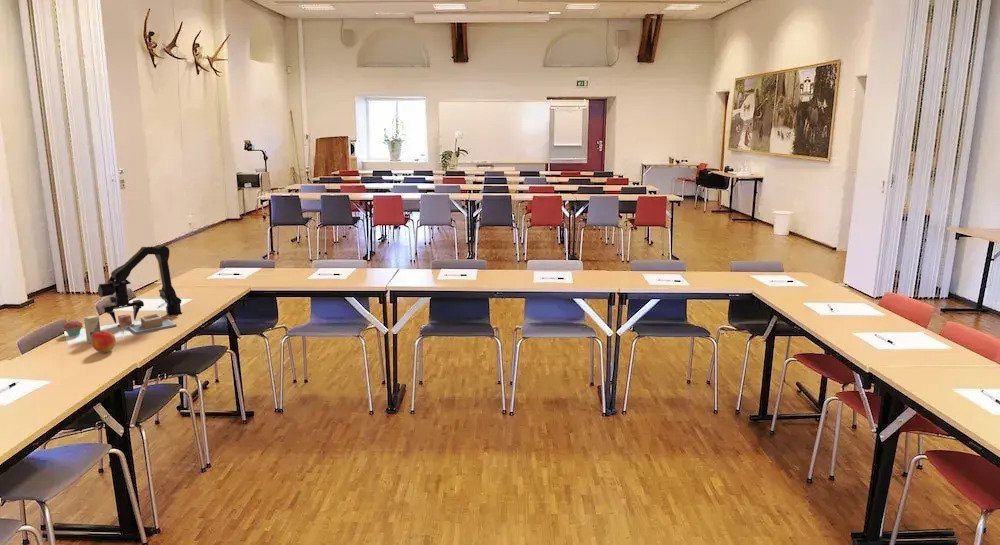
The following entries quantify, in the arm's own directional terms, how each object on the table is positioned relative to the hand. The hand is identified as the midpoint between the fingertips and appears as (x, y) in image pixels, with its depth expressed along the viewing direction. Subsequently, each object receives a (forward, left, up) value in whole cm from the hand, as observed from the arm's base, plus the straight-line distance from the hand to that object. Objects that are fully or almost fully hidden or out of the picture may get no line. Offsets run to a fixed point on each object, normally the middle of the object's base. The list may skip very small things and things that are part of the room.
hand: (125, 321), depth 354 cm
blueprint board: (-9, +15, -2) cm, 18 cm away
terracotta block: (0, 0, -2) cm, 2 cm away
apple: (+19, +41, -2) cm, 45 cm away
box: (+19, +21, -2) cm, 28 cm away
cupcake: (+24, +1, -2) cm, 24 cm away
